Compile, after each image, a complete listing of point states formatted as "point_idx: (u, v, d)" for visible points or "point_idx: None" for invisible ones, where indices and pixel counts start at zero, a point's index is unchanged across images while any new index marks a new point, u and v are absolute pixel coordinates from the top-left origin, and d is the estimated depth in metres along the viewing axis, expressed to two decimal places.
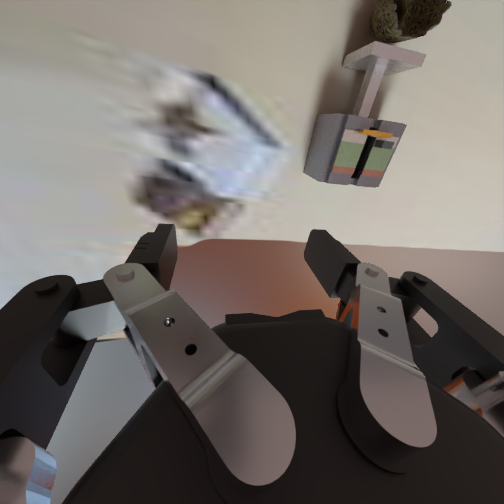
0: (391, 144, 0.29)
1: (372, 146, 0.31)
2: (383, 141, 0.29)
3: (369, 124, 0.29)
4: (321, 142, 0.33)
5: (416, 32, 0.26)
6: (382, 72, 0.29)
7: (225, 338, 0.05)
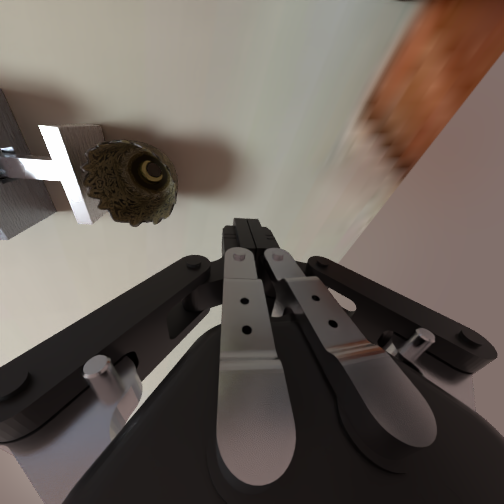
0: None
1: None
2: None
3: None
4: None
5: (117, 203, 0.20)
6: None
7: None
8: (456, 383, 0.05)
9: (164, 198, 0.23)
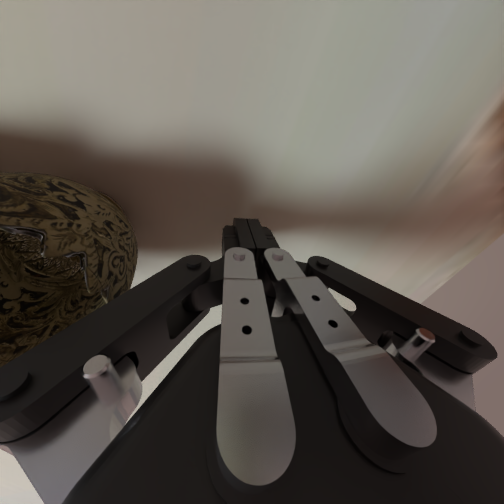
0: None
1: None
2: None
3: None
4: None
5: None
6: None
7: None
8: (456, 383, 0.05)
9: None
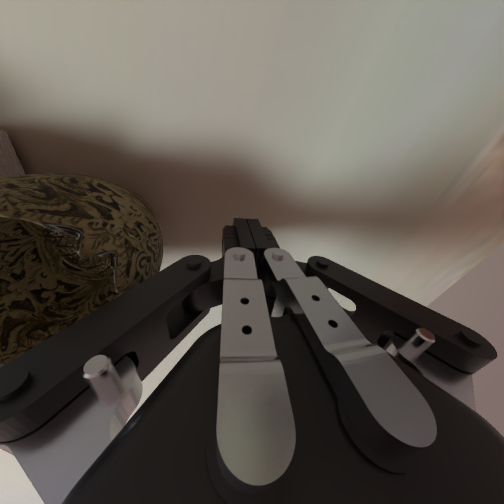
0: None
1: None
2: None
3: None
4: None
5: (19, 306, 0.09)
6: None
7: None
8: (456, 383, 0.05)
9: None
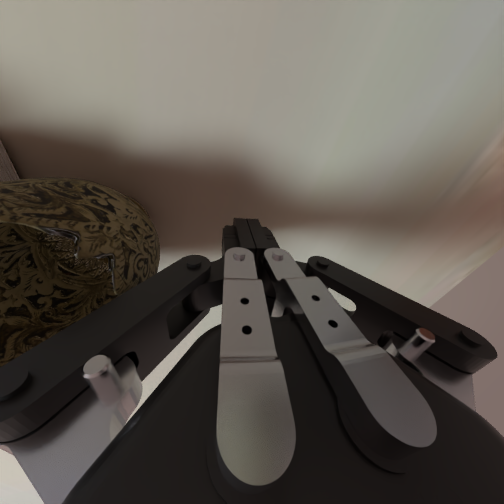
0: None
1: None
2: None
3: None
4: None
5: (16, 313, 0.09)
6: None
7: None
8: (457, 383, 0.05)
9: None
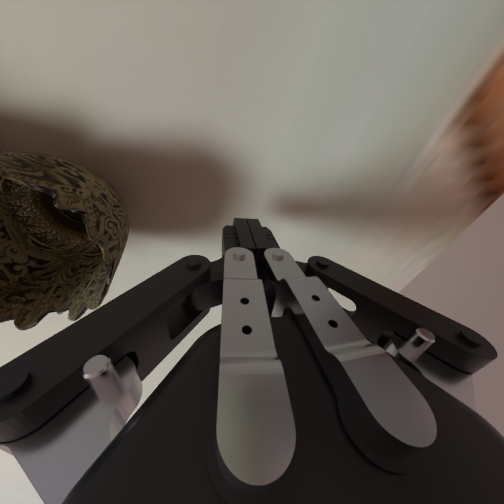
0: None
1: None
2: None
3: None
4: None
5: None
6: None
7: None
8: (456, 383, 0.05)
9: None
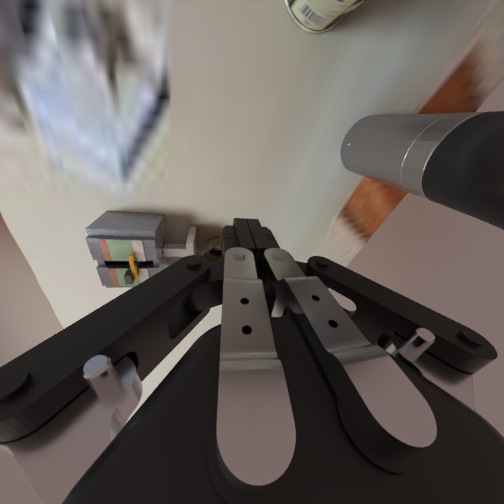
0: (129, 282, 0.33)
1: None
2: (129, 275, 0.32)
3: (152, 259, 0.33)
4: (133, 222, 0.33)
5: None
6: (185, 255, 0.38)
7: None
8: (457, 383, 0.05)
9: None
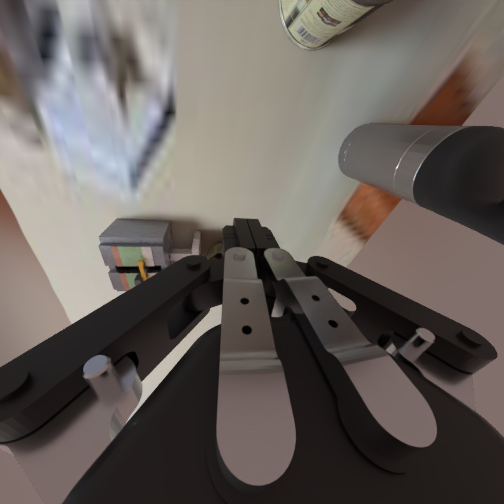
0: None
1: None
2: (139, 279, 0.34)
3: (160, 264, 0.35)
4: (142, 229, 0.35)
5: None
6: None
7: None
8: (456, 383, 0.05)
9: None
